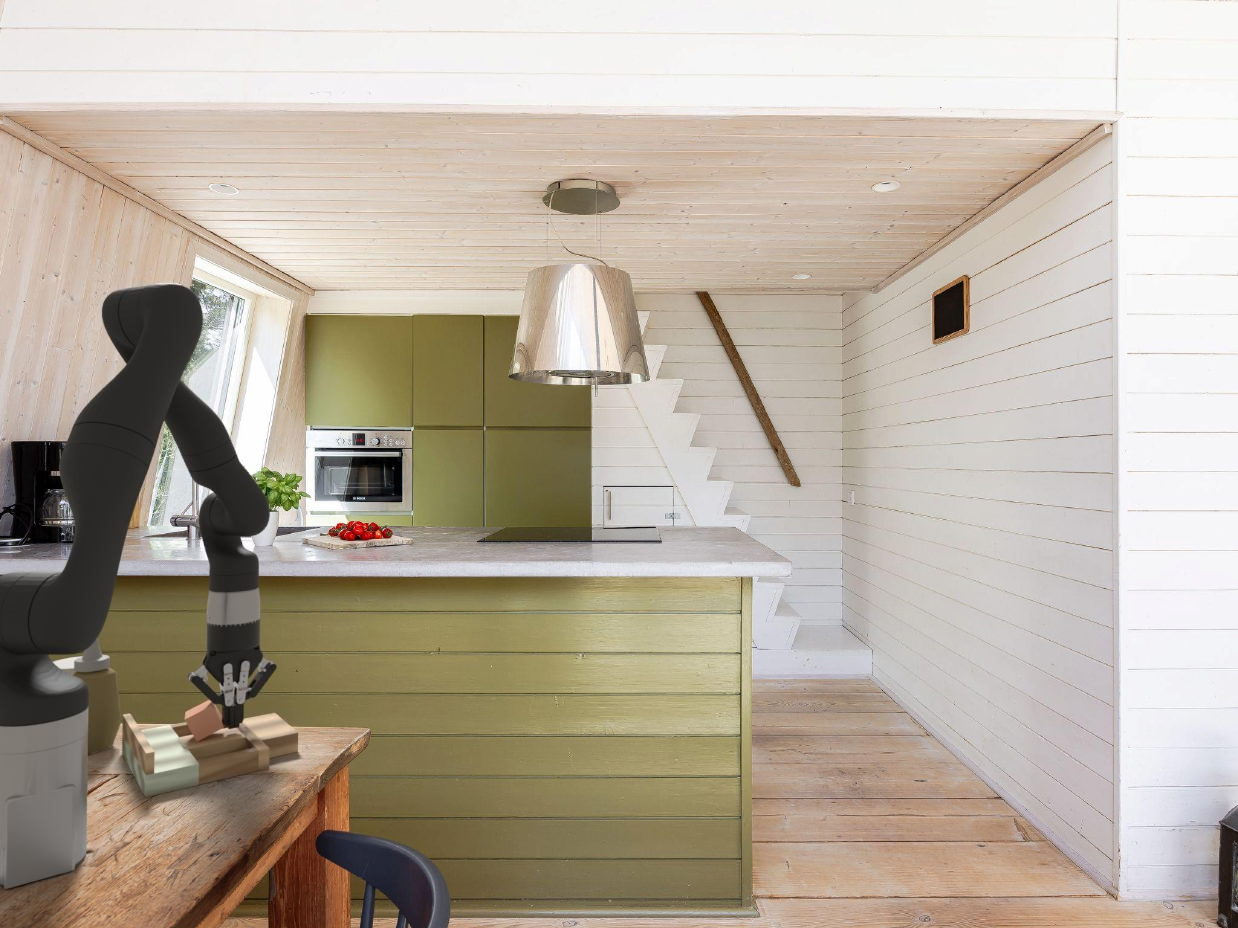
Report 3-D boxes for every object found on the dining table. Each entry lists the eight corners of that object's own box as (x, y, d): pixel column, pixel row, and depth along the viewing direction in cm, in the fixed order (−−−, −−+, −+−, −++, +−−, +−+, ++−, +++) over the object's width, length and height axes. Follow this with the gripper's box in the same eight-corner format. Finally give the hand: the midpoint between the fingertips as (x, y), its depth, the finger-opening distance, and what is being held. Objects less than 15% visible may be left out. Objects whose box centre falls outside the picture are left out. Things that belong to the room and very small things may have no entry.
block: (223, 727, 118) (211, 705, 118) (196, 741, 117) (184, 719, 116) (223, 719, 122) (212, 698, 121) (197, 733, 120) (185, 711, 120)
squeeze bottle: (105, 735, 127) (107, 627, 126) (131, 745, 122) (133, 633, 122) (49, 751, 120) (51, 636, 120) (74, 762, 116) (76, 643, 115)
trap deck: (306, 759, 118) (307, 720, 118) (145, 797, 104) (146, 753, 104) (267, 723, 134) (267, 689, 134) (122, 752, 120) (122, 714, 120)
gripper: (191, 627, 113) (190, 743, 113) (285, 616, 122) (284, 724, 122) (181, 618, 119) (180, 729, 119) (271, 608, 128) (270, 712, 128)
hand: (232, 726), depth 121 cm, fingers closed
